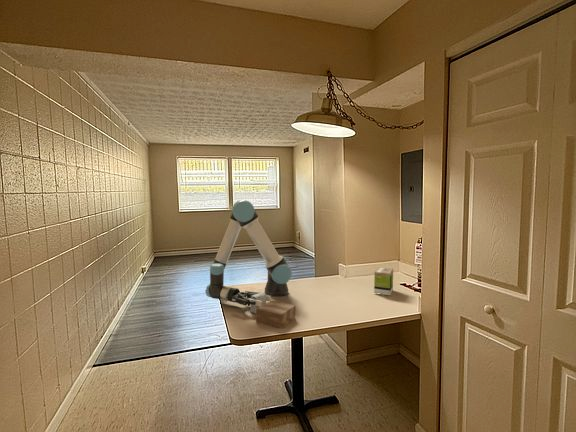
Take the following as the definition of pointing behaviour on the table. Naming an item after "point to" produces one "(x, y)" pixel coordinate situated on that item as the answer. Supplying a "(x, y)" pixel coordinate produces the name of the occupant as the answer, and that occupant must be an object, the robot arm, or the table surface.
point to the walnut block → (275, 314)
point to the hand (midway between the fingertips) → (266, 301)
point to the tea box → (383, 281)
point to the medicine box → (259, 297)
